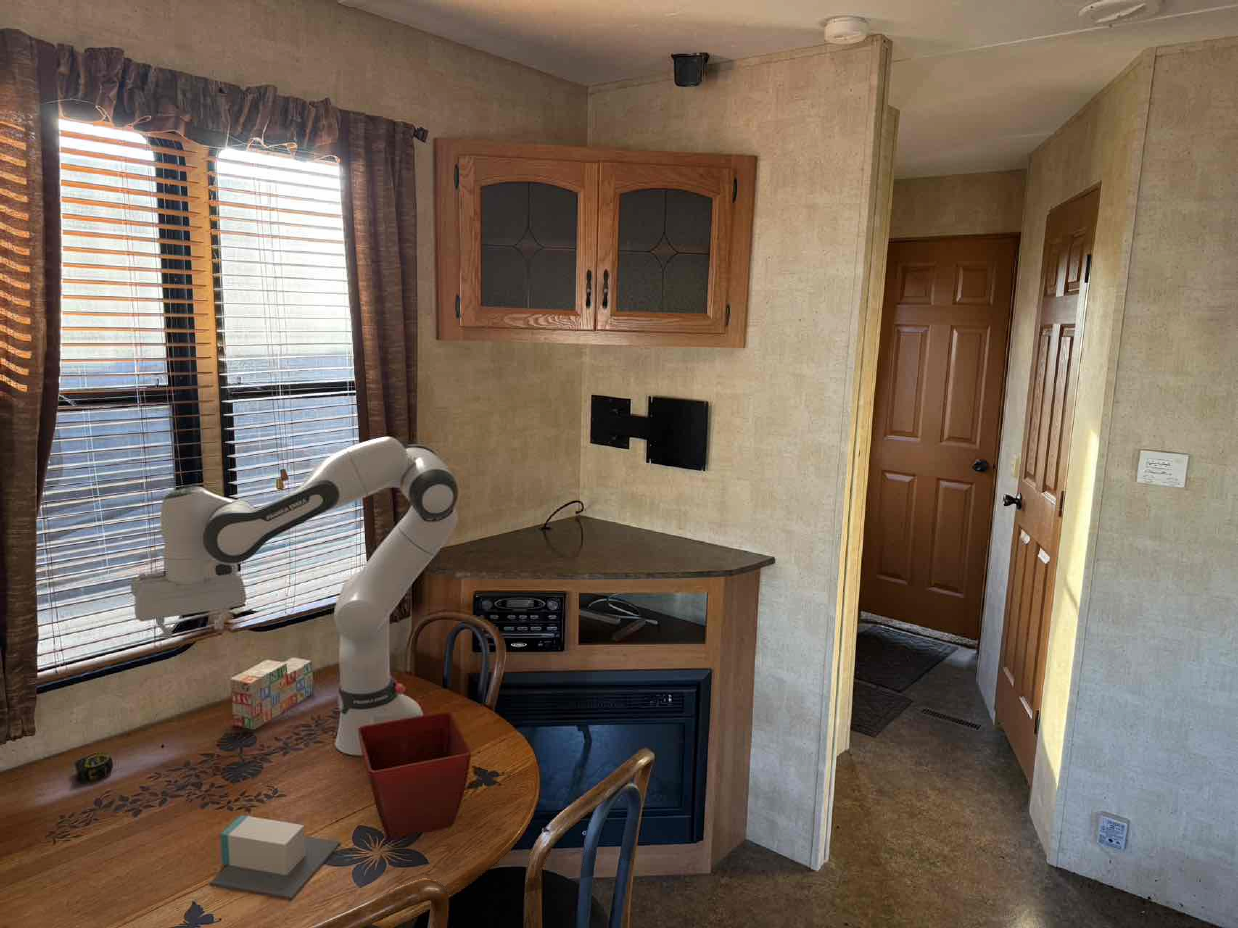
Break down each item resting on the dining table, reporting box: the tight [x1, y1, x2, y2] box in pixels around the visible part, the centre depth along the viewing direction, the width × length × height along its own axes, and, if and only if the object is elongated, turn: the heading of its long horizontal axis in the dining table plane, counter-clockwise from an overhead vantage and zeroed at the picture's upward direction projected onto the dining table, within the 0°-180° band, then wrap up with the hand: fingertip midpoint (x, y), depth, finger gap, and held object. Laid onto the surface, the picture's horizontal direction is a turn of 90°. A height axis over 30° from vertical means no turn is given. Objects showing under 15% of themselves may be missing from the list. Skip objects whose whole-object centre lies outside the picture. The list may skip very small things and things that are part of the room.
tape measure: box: [74, 752, 114, 784], centre depth 186 cm, size 7×7×4 cm
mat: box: [209, 835, 341, 901], centre depth 158 cm, size 16×16×1 cm
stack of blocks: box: [230, 657, 314, 731], centre depth 217 cm, size 21×6×12 cm, turn 159°
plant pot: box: [358, 711, 472, 840], centre depth 172 cm, size 19×19×17 cm
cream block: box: [220, 814, 306, 875], centre depth 158 cm, size 6×6×13 cm
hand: (193, 632), depth 177 cm, fingers open, 8 cm apart
